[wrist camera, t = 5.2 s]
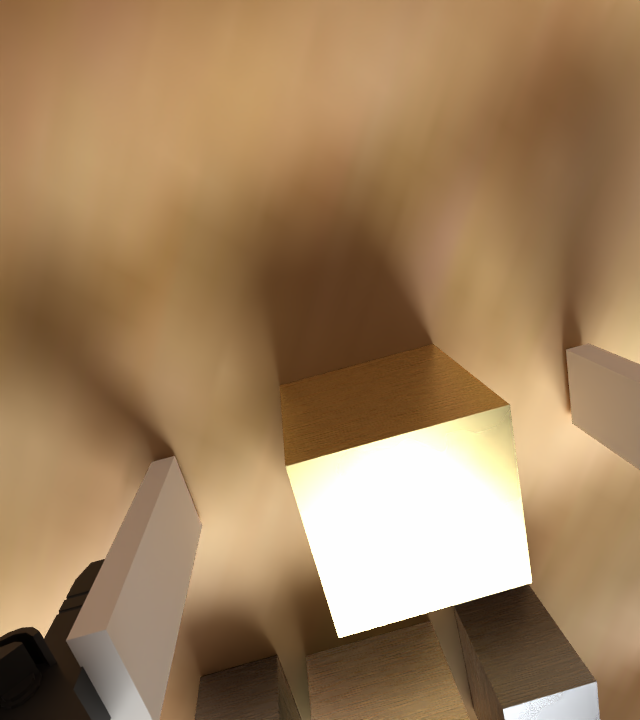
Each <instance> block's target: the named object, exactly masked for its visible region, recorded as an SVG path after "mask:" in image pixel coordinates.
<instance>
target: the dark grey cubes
mask: <svg viewBox="0 0 640 720" xmlns="http://www.w3.org/2000/svg"><path fill="white" fill-rule="evenodd" d="M453 606H454V611H455V616H456V621H457V626H458V631H459V636H460V641H461V646H462V651H463V656H464V661H465V666H466V671H467V676H468V681H469V686H470V691H471V696H472V701H473V706H474V711H475V713H476V716H477V718H478V720H600V718H599V705H598V692H597V681H596V680H595V678H594V677H593V676H592V674H591V673H590V671H589V670H588V668H587V667H586V666H585V664H584V663H583V661H582V660H581V658H580V657H579V656H578V654H577V653H576V651H575V650H574V649H573V647H572V646H571V644H570V643H569V641H568V640H567V639H566V637H565V636H564V634H563V633H562V631H561V630H560V629H559V627H558V626H557V624H556V623H555V622H554V620H553V619H552V617H551V616H550V614H549V613H548V612H547V610H546V609H545V607H544V606H543V604H542V603H541V602H540V600H539V599H538V597H537V596H536V594H535V593H534V592H533V590H532V589H531V587H530V586H529V585H528V584H526V585H522V586H519V587H515V588H512V589H508V590H505V591H501V592H498V593H494V594H491V595H487V596H484V597H480V598H477V599H473V600H470V601H466V602H463V603H459V604H456V605H453ZM195 720H301V717H300V715H299V712H298V709H297V707H296V704H295V701H294V699H293V696H292V693H291V691H290V688H289V685H288V683H287V680H286V677H285V675H284V672H283V669H282V667H281V664H280V661H279V659H278V656H277V655H276V656H273V657H269V658H266V659H263V660H259V661H256V662H252V663H249V664H245V665H242V666H238V667H235V668H231V669H228V670H224V671H221V672H217V673H214V674H210V675H207V676H203V677H201V678H200V685H199V692H198V699H197V706H196V713H195Z"/></svg>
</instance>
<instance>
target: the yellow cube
mask: <svg viewBox="0 0 640 720" xmlns="http://www.w3.org/2000/svg"><path fill="white" fill-rule="evenodd" d="M280 396H281V410H282V424H283V438H284V453H285V467H286V470H287V473H288V476H289V479H290V483H291V486H292V489H293V492H294V495H295V499H296V502H297V505H298V508H299V512H300V515H301V518H302V521H303V524H304V528H305V531H306V534H307V537H308V541H309V544H310V547H311V550H312V553H313V557H314V560H315V563H316V566H317V570H318V573H319V576H320V579H321V582H322V586H323V589H324V592H325V595H326V598H327V602H328V605H329V608H330V611H331V615H332V618H333V621H334V624H335V627H336V631H337V634H338V637H339V638H341V637H344V636H348V635H351V634H355V633H358V632H362V631H365V630H369V629H372V628H376V627H379V626H383V625H386V624H390V623H393V622H397V621H400V620H404V619H407V618H411V617H414V616H418V615H421V614H425V613H428V612H431V611H435V610H438V609H442V608H445V607H449V606H452V605H456V604H459V603H463V602H466V601H470V600H473V599H477V598H480V597H484V596H487V595H491V594H494V593H498V592H501V591H505V590H508V589H512V588H515V587H519V586H522V585H526V584H529V583H532V578H531V570H530V562H529V554H528V546H527V538H526V531H525V523H524V515H523V507H522V499H521V491H520V483H519V475H518V467H517V459H516V451H515V443H514V435H513V427H512V419H511V411H510V404H508V403H507V402H506V401H504V400H503V399H502V398H501V397H499V396H498V395H497V394H496V393H494V392H493V391H492V390H491V389H489V388H488V387H487V386H486V385H484V384H483V383H482V382H480V381H479V380H478V379H477V378H475V377H474V376H473V375H472V374H470V373H469V372H468V371H467V370H465V369H464V368H463V367H462V366H460V365H459V364H458V363H456V362H455V361H454V360H453V359H451V358H450V357H449V356H448V355H446V354H445V353H444V352H443V351H441V350H440V349H439V348H438V347H436V346H435V345H434V344H431V345H428V346H424V347H420V348H416V349H413V350H409V351H405V352H402V353H398V354H394V355H391V356H387V357H383V358H380V359H376V360H372V361H369V362H365V363H361V364H358V365H354V366H350V367H346V368H343V369H339V370H335V371H332V372H328V373H324V374H321V375H317V376H313V377H310V378H306V379H302V380H299V381H295V382H291V383H288V384H284V385H280Z"/></svg>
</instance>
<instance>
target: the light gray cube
mask: <svg viewBox="0 0 640 720" xmlns="http://www.w3.org/2000/svg"><path fill="white" fill-rule="evenodd" d="M306 662H307V674H308V685H309V697H310V708H311V720H470V718H469V716H468V713H467V711H466V708H465V706H464V703H463V701H462V698H461V696H460V693H459V691H458V688H457V686H456V683H455V681H454V678H453V676H452V673H451V671H450V668H449V666H448V663H447V661H446V658H445V656H444V653H443V651H442V648H441V646H440V643H439V641H438V638H437V636H436V633H435V631H434V628H433V626H432V623H431V621H427V622H423V623H420V624H416V625H413V626H409V627H406V628H402V629H399V630H395V631H392V632H388V633H385V634H381V635H378V636H374V637H371V638H367V639H364V640H360V641H357V642H353V643H350V644H346V645H343V646H339V647H336V648H332V649H329V650H325V651H322V652H318V653H315V654H311V655H307V656H306Z"/></svg>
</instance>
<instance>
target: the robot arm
mask: <svg viewBox="0 0 640 720" xmlns="http://www.w3.org/2000/svg"><path fill="white" fill-rule="evenodd" d="M566 355H567V367H568V379H569V391H570V403H571V415H572V424H574V425H575V426H577V427H578V428H580V429H581V430H583V431H584V432H585V433H587V434H588V435H590V436H591V437H593V438H594V439H596V440H597V441H598V442H600V443H601V444H603V445H604V446H606V447H607V448H609V449H610V450H611V451H613V452H614V453H616V454H617V455H619V456H620V457H622V458H623V459H624V460H626V461H627V462H629V463H630V464H632V465H633V466H635V467H636V468H637V469H639V470H640V364H638V363H635V362H633V361H630V360H628V359H625V358H623V357H620V356H618V355H616V354H613V353H611V352H608V351H606V350H603V349H601V348H598V347H596V346H593V345H591V344H585V345H581V346H577V347H573V348H570V349H566ZM201 528H202V524H201V521H200V519H199V516H198V514H197V511H196V509H195V506H194V504H193V501H192V498H191V496H190V493H189V491H188V488H187V486H186V483H185V481H184V478H183V476H182V473H181V470H180V468H179V465H178V463H177V460H176V458H175V456H172V457H169V458H165V459H161V460H157V461H154V462H151V464H150V466H149V468H148V471H147V473H146V475H145V477H144V479H143V481H142V483H141V485H140V487H139V489H138V491H137V493H136V496H135V498H134V500H133V502H132V504H131V506H130V508H129V510H128V512H127V514H126V516H125V519H124V521H123V523H122V525H121V527H120V529H119V531H118V533H117V535H116V537H115V539H114V541H113V544H112V546H111V548H110V550H109V552H108V554H107V556H106V558H105V559H103V560H99V561H96V562H92V563H91V564H90V565H89V566H88V567H87V568H86V569H85V570H84V571H83V572H82V573H81V574H80V575H79V577H78V578H77V579H76V580H75V582H74V584H73V585H72V587H71V589H70V591H69V593H68V595H67V600H64V602H63V604H62V606H61V608H60V610H59V614H58V615H56V617H55V619H54V621H53V623H52V625H51V627H50V629H49V630H48V632H47V634H46V636H45V638H44V639H43V637H42V635H41V633H40V632H39V631H38V630H37V629H35V628H33V627H26V628H20V629H17V630H14V631H11V632H9V633H7V634H5V635H3V636H2V637H0V720H159V719H160V715H161V710H162V705H163V701H164V696H165V692H166V687H167V683H168V678H169V673H170V669H171V664H172V660H173V655H174V651H175V646H176V642H177V637H178V632H179V628H180V623H181V619H182V614H183V610H184V605H185V601H186V596H187V591H188V587H189V582H190V578H191V573H192V569H193V564H194V560H195V555H196V550H197V546H198V541H199V537H200V532H201Z"/></svg>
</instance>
